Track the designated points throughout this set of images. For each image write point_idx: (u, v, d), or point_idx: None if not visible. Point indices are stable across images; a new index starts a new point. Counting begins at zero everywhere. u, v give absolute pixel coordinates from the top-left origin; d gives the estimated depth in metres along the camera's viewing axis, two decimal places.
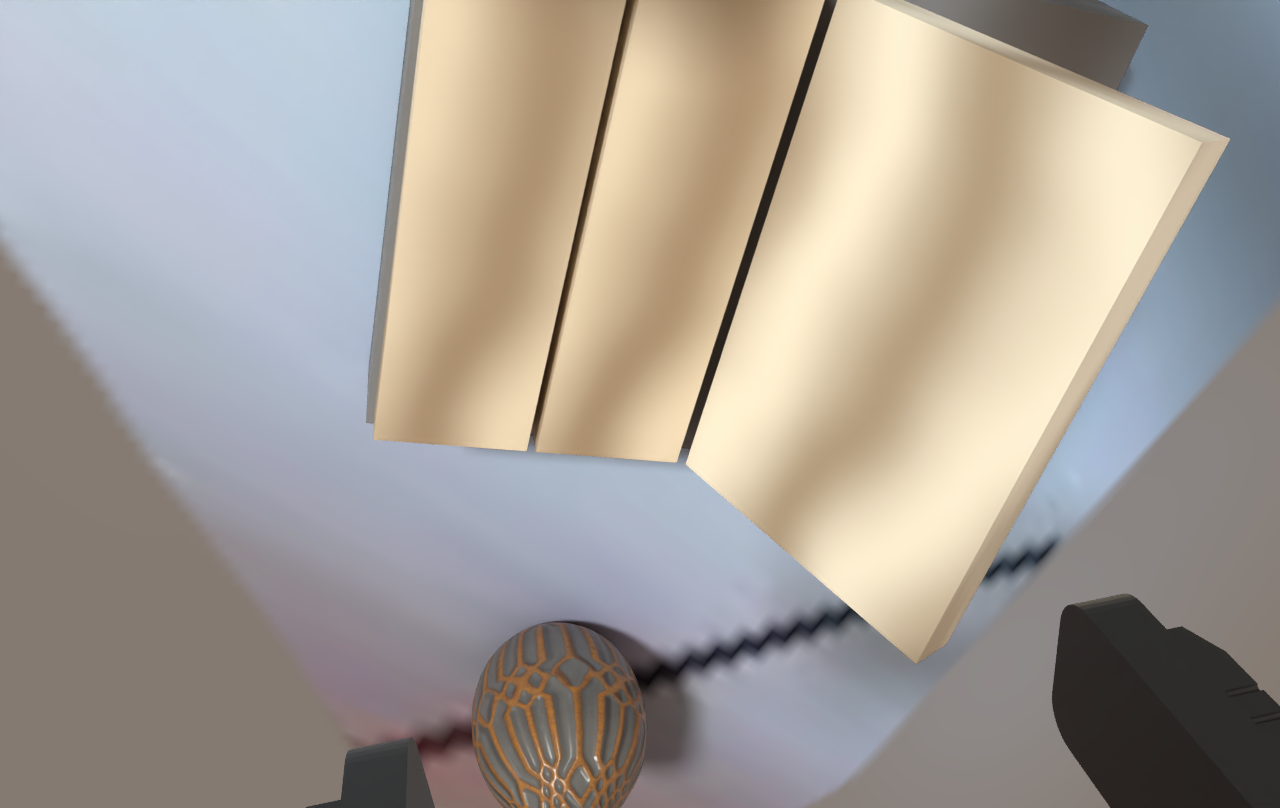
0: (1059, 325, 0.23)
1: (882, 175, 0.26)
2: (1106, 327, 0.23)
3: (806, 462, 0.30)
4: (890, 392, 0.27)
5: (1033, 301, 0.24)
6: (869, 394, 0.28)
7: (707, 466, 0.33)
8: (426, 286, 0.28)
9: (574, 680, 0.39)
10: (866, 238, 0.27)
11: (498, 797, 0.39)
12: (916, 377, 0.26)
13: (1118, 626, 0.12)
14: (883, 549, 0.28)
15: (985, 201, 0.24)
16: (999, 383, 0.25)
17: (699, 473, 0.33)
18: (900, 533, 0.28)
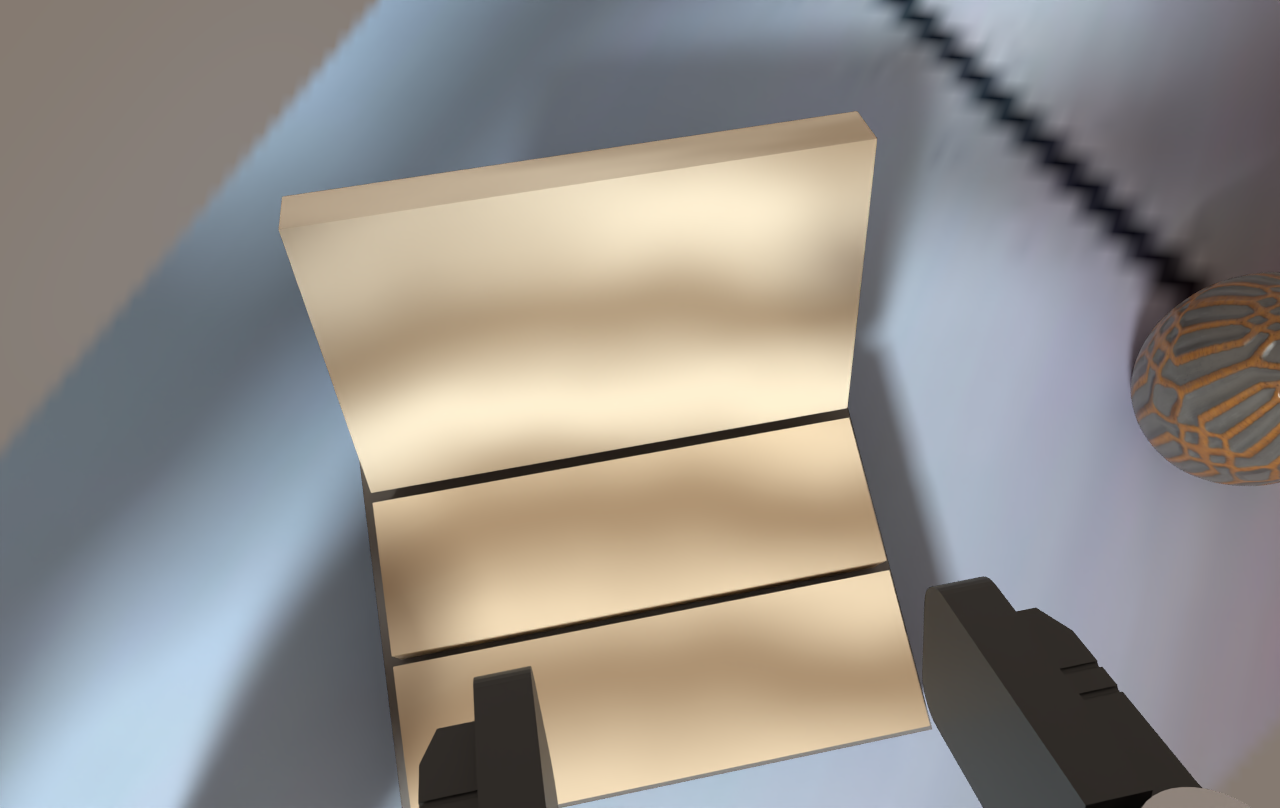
0: (478, 228, 0.26)
1: (474, 400, 0.30)
2: (456, 195, 0.26)
3: (757, 324, 0.30)
4: (636, 301, 0.29)
5: (476, 255, 0.27)
6: (652, 314, 0.29)
7: (833, 391, 0.32)
8: (747, 730, 0.30)
9: (1172, 396, 0.34)
10: (529, 385, 0.30)
11: None
12: (607, 292, 0.28)
13: (970, 606, 0.12)
14: (784, 227, 0.28)
15: (433, 327, 0.28)
16: (559, 236, 0.27)
17: (846, 393, 0.33)
18: (756, 224, 0.28)
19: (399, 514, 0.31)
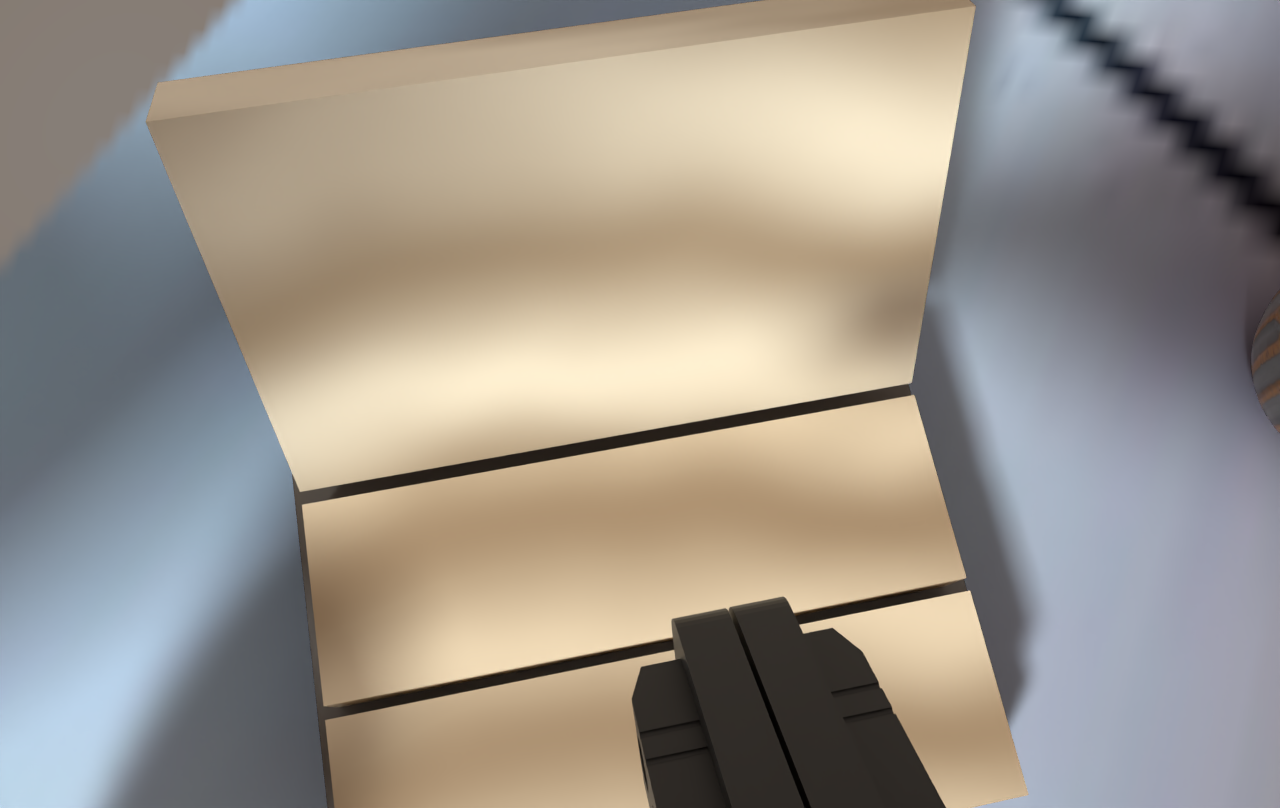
0: (428, 125, 0.19)
1: (431, 369, 0.23)
2: (397, 78, 0.19)
3: (803, 269, 0.23)
4: (645, 236, 0.21)
5: (427, 165, 0.19)
6: (666, 254, 0.22)
7: (895, 361, 0.25)
8: None
9: None
10: (503, 349, 0.23)
11: None
12: (607, 222, 0.21)
13: (760, 627, 0.12)
14: (845, 133, 0.21)
15: (372, 269, 0.21)
16: (541, 141, 0.20)
17: (911, 364, 0.25)
18: (808, 128, 0.20)
19: (336, 519, 0.24)
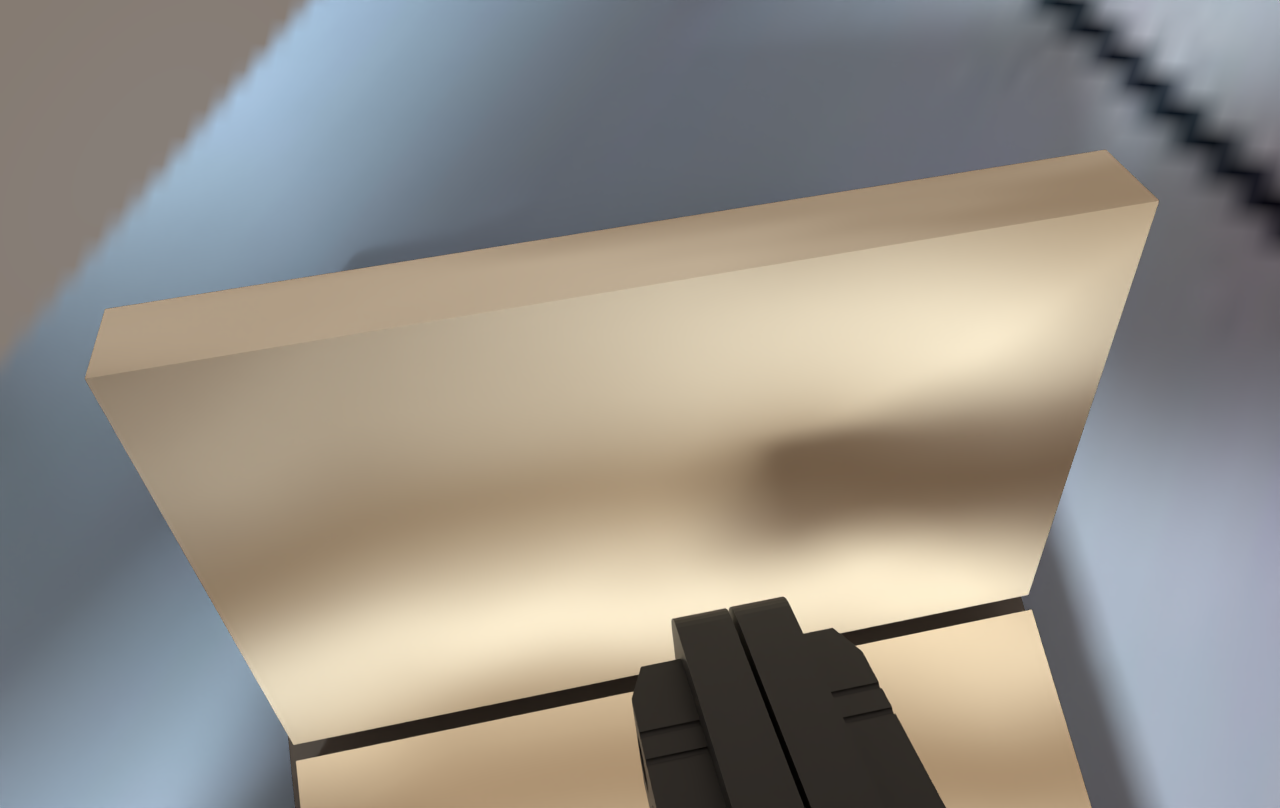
0: (455, 365, 0.15)
1: (454, 616, 0.18)
2: (416, 308, 0.14)
3: (912, 490, 0.18)
4: (723, 467, 0.17)
5: (452, 407, 0.15)
6: (748, 485, 0.17)
7: (1012, 574, 0.21)
8: None
9: None
10: (544, 591, 0.18)
11: None
12: (677, 455, 0.17)
13: (760, 627, 0.12)
14: (979, 346, 0.16)
15: (381, 520, 0.16)
16: (598, 373, 0.15)
17: (1030, 576, 0.21)
18: (934, 343, 0.16)
19: (338, 779, 0.20)
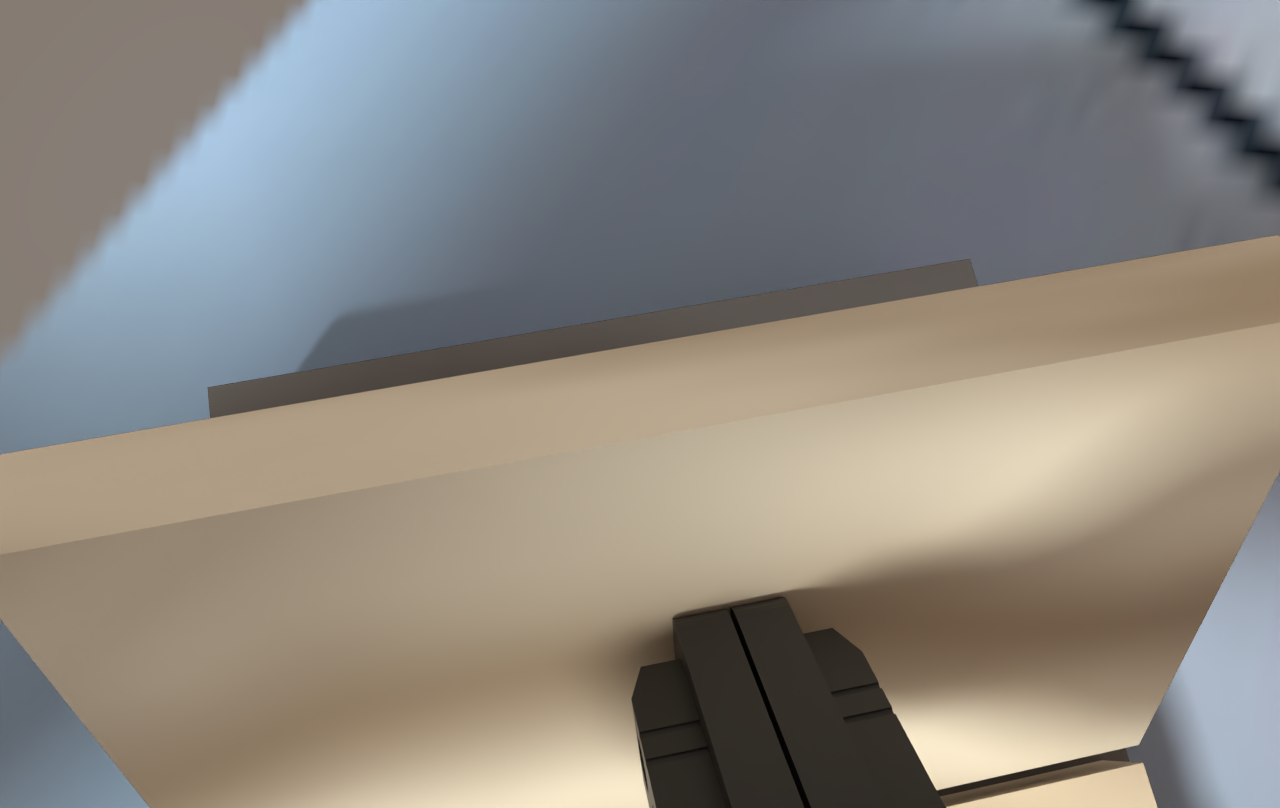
0: (454, 528, 0.11)
1: (452, 803, 0.15)
2: (401, 458, 0.11)
3: (1017, 643, 0.15)
4: None
5: (450, 577, 0.12)
6: None
7: (1122, 725, 0.17)
8: None
9: None
10: (563, 771, 0.15)
11: None
12: None
13: (759, 627, 0.12)
14: (1118, 482, 0.13)
15: (360, 705, 0.13)
16: (639, 531, 0.12)
17: (1143, 726, 0.18)
18: (1063, 481, 0.13)
19: None
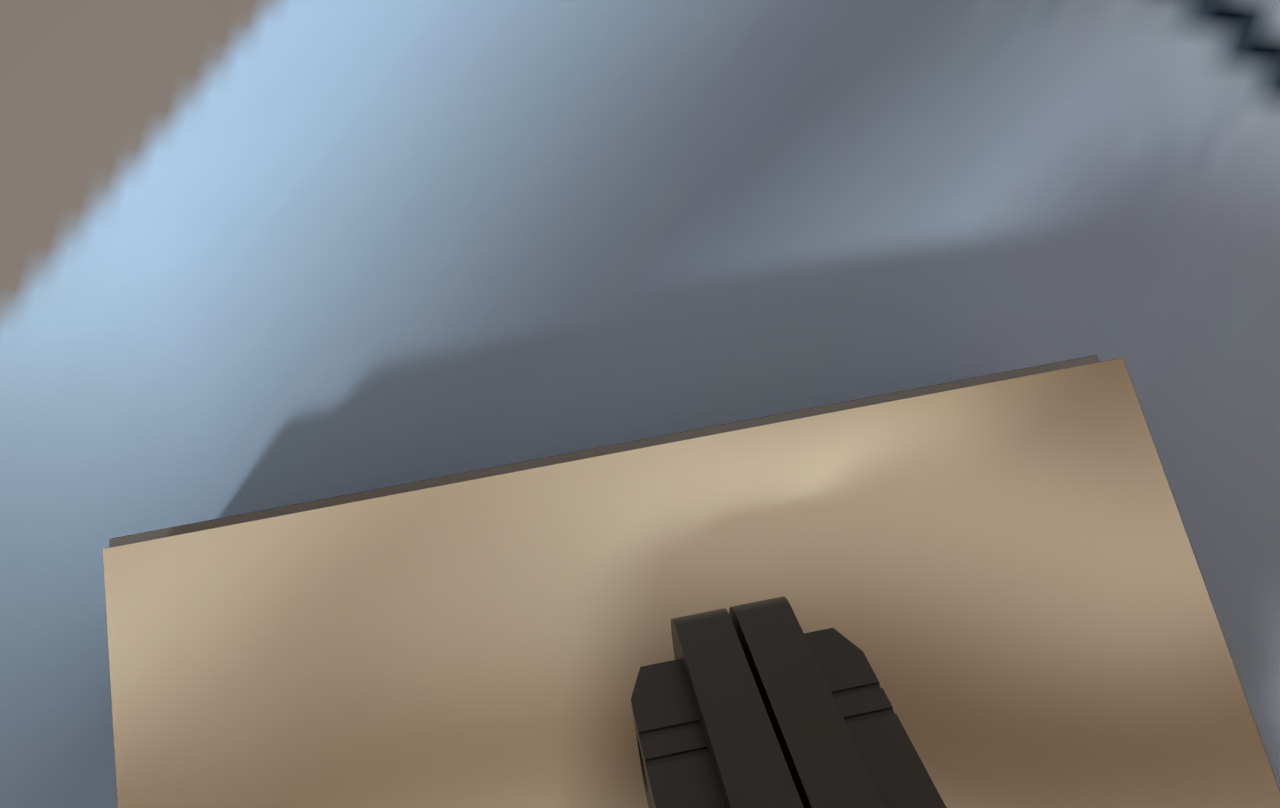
0: (454, 541, 0.14)
1: None
2: (423, 495, 0.15)
3: (1049, 772, 0.14)
4: None
5: (449, 600, 0.14)
6: None
7: None
8: None
9: None
10: None
11: None
12: None
13: (760, 627, 0.12)
14: (1024, 531, 0.15)
15: (358, 782, 0.13)
16: (602, 557, 0.15)
17: None
18: (968, 526, 0.15)
19: None
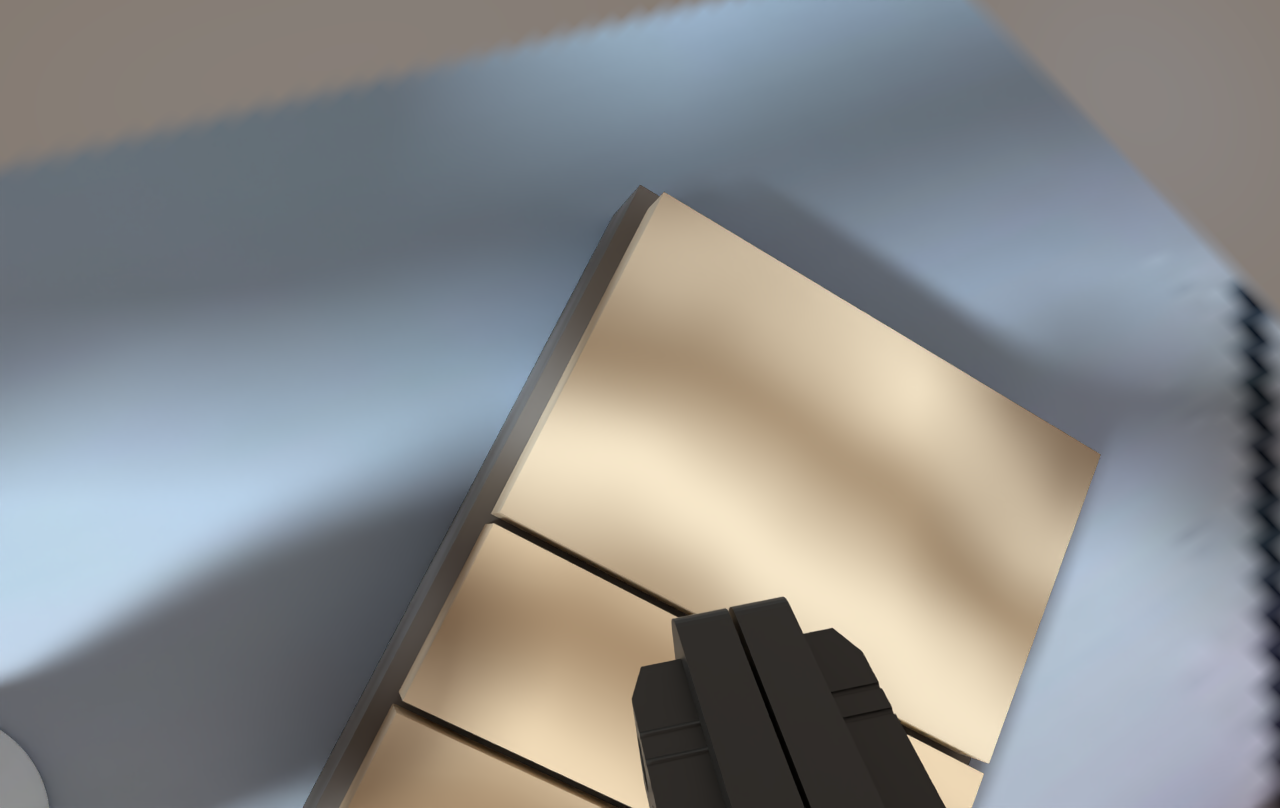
0: (798, 304, 0.28)
1: (678, 472, 0.27)
2: (793, 275, 0.29)
3: (952, 578, 0.29)
4: (870, 471, 0.28)
5: (781, 326, 0.28)
6: (876, 495, 0.28)
7: (984, 726, 0.28)
8: None
9: None
10: (735, 492, 0.27)
11: None
12: (854, 442, 0.28)
13: (759, 627, 0.12)
14: (1011, 486, 0.30)
15: (702, 365, 0.27)
16: (848, 359, 0.29)
17: (994, 740, 0.28)
18: (992, 466, 0.30)
19: (511, 555, 0.25)
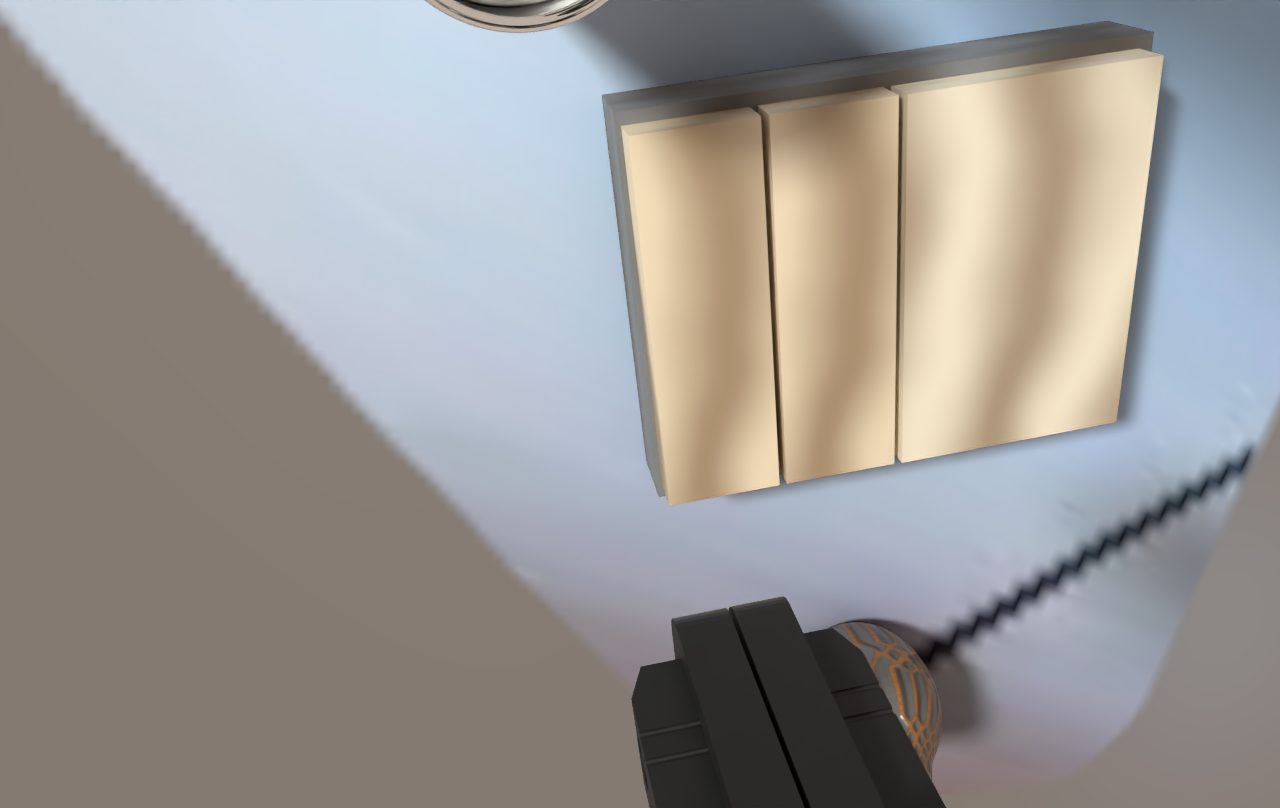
0: (1126, 187, 0.39)
1: (984, 183, 0.38)
2: (1143, 172, 0.39)
3: (998, 381, 0.42)
4: (1040, 295, 0.41)
5: (1107, 185, 0.39)
6: (1026, 308, 0.41)
7: (921, 448, 0.43)
8: (679, 386, 0.40)
9: None
10: (988, 225, 0.39)
11: None
12: (1054, 275, 0.40)
13: (760, 627, 0.12)
14: (1071, 382, 0.43)
15: (1058, 154, 0.38)
16: (1105, 240, 0.40)
17: (916, 458, 0.43)
18: (1078, 364, 0.42)
19: (884, 119, 0.36)
